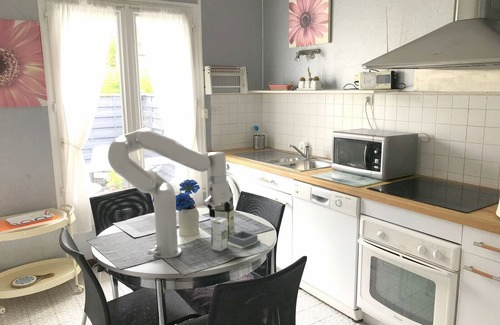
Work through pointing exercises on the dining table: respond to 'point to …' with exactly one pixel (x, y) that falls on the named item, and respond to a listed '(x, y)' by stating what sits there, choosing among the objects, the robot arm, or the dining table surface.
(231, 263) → the dining table surface
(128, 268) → the dining table surface
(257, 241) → the board
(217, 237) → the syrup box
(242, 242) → the grey square tray
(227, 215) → the coffee can
